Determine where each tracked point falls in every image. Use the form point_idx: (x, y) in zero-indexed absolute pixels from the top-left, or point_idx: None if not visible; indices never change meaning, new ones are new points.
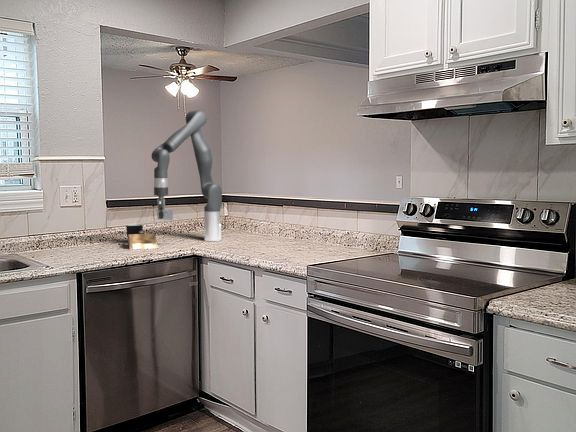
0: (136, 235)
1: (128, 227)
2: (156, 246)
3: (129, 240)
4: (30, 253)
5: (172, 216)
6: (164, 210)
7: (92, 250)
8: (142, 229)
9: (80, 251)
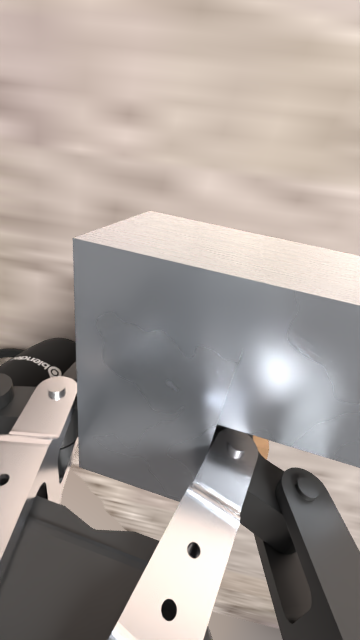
0: None
1: None
2: None
3: None
4: (231, 592)
5: (266, 245)
6: (215, 422)
7: None
8: (27, 368)
9: (245, 527)
